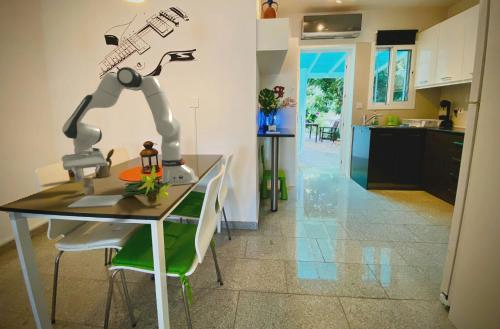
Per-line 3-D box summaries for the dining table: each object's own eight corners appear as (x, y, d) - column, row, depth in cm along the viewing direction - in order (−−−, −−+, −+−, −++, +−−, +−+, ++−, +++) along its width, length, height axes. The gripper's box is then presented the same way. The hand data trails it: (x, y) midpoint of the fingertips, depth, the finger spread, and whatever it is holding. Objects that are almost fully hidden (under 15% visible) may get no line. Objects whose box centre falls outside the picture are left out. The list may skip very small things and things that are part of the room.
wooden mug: (119, 174, 172) (116, 149, 168) (98, 178, 162) (95, 151, 158) (114, 173, 177) (110, 148, 174) (93, 176, 167) (89, 150, 163)
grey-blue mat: (126, 195, 127) (126, 194, 127) (113, 205, 113) (113, 204, 113) (85, 197, 125) (85, 196, 125) (68, 207, 112) (67, 206, 112)
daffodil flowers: (147, 191, 136) (187, 186, 114) (128, 211, 126) (168, 210, 105) (126, 168, 128) (164, 158, 107) (104, 188, 118) (141, 182, 97)
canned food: (79, 178, 163) (76, 160, 160) (87, 179, 160) (84, 161, 158) (67, 181, 156) (63, 163, 153) (75, 182, 153) (72, 163, 150)
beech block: (94, 191, 135) (92, 175, 133) (94, 193, 131) (92, 177, 130) (84, 192, 133) (82, 176, 131) (84, 195, 129) (82, 178, 127)
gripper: (60, 151, 132) (62, 172, 126) (104, 148, 144) (107, 167, 138) (62, 158, 137) (64, 179, 131) (104, 155, 148) (108, 173, 142)
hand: (86, 173), depth 134 cm, fingers open, 8 cm apart
